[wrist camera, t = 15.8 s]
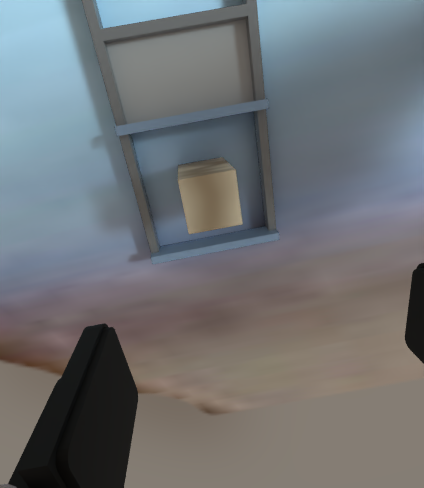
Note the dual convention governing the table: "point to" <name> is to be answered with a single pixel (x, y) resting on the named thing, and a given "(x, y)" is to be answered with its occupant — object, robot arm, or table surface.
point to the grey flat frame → (186, 96)
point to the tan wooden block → (209, 195)
